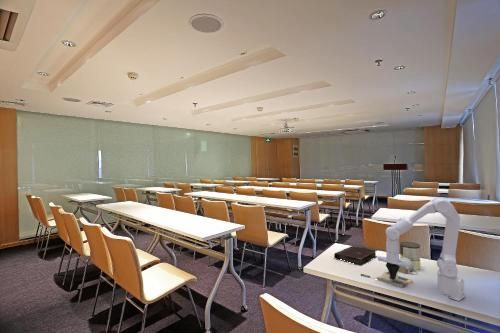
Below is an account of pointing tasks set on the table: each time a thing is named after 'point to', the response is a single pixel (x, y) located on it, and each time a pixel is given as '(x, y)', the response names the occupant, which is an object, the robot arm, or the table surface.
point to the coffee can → (411, 253)
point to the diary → (356, 255)
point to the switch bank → (397, 281)
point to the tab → (387, 276)
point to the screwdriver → (367, 276)
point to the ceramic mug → (404, 270)
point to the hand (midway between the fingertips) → (393, 278)
